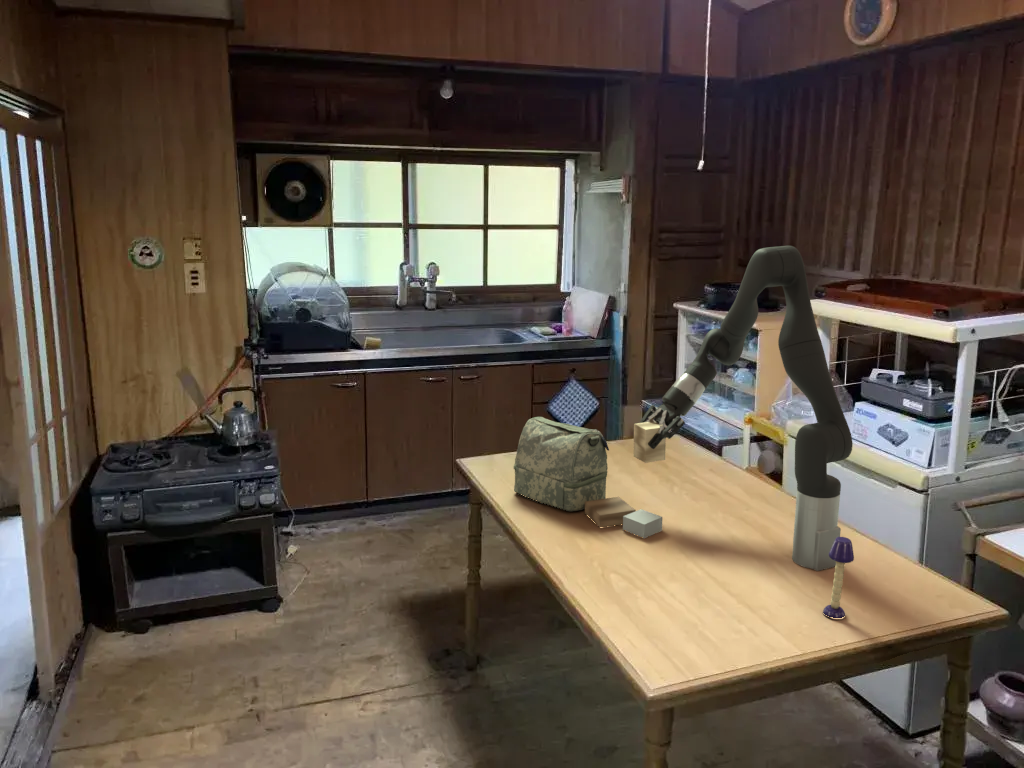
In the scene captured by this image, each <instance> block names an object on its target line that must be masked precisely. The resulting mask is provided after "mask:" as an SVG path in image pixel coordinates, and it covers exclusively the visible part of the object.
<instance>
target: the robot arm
mask: <svg viewBox="0 0 1024 768" xmlns="http://www.w3.org/2000/svg"><path fill="white" fill-rule="evenodd" d="M806 272H807V271H806V267H805V263H804V260H803V257H802V254H801V253H800V251H799V250H798V248H797V247H795V246H793V245H781V246H770V247H763V248H759V249H757V250H756V251H755V252H754V253H753V255H751V258H750V260H749V262H748V264H747V266H746V269H745V272H744V275H743V278H742V280H741V283H740V286H739V288H738V291H737V294H736V297H735V300H733V301H734V302H733V303H732V304H731V306H730V308H729V310H728V312H727V314H726V315H725V317H723V320H722V322H721V324H720V328H718V327H716V328H713V329H711V330H709V331H708V332H707V333H706V334H705V336H704V338H703V340H702V342H701V345H700V347H699V350H698V352H697V354H696V356H695V358H694V359H693V361H692V362H691V364H690V365H689V366H688V367H687V368H686V370H685V371H684V372H683V374H681V375H680V376H679V377H678V378H677V379H676V380H675V381H674V383H673V384H672V385H671V387H670V388H669V389H668V390H667V391H666V392H665V394H664V395H663V396H662V399H661V400H662V403H661V404H660V405H659V406H658V407H657V406H655V405H654V404H651V405H650V406H649V408H648V409H647V411H646V412H645V413H644V415H643V416H642V418H641V419H640V422H639V423H643V422H657V423H659V426H660V428H659V430H658V432H657V433H658V434H657V433H656V434H655V435H654V436H653V438H652V439H651V440H650V441H649V443H648V445H649V446H650V447H651V448H652V449H655V447H657V445H658V444H659V443H660V442H661V441H662V439H665V438H667V439H668V440H669V439H670V440H671V439H672V438H673V437H674V436H675V435H676V433H677V432H678V431H679V430H680V429H682V427H683V426H684V425H685V423H686V422H685V420H684V419H683V418H682V417H685V416H687V414H688V413H689V412H690V411H691V409H692V408H693V407H694V406H695V404H696V403H697V402H698V400H700V398H701V397H702V395H703V393H704V392H705V390H706V389H707V387H708V386H710V384H711V383H712V382H713V380H715V377H717V374H718V372H717V369H716V368H715V366H714V365H713V364H712V363H711V362H710V360H709V359H708V355H710V356H712V357H713V358H714V359H715V360H717V361H718V362H719V363H721V364H722V365H725V366H732V365H735V364H737V362H738V361H739V359H740V358H741V356H742V355H743V354H742V353H743V351H744V347H745V341H746V338H747V335H748V334H749V332H750V331H751V329H752V328H753V326H754V325H755V323H756V322H757V319H758V316H759V306H758V305H759V304H758V297H759V295H760V294H761V293H762V292H763V290H765V288H773V287H774V288H775V287H782V289H783V293H784V297H785V304H786V309H785V315H784V319H783V321H782V324H781V327H780V330H779V334H778V335H779V336H778V339H777V340H778V342H777V343H778V350H779V354H780V357H781V361H782V365H783V368H784V370H785V371H784V372H786V374H787V376H788V378H790V380H791V381H792V382H793V383H794V385H795V386H796V387H797V388H798V389H799V390H800V391H801V392H802V393H803V395H804V396H805V397H806V398H807V400H808V402H809V403H810V405H811V407H812V409H813V413H814V415H815V419H816V422H814V423H808V424H804V425H803V426H801V427H800V428H799V430H798V431H797V434H796V436H795V443H794V477H795V480H796V496H795V497H796V498H795V499H796V500H795V510H794V511H795V512H794V513H795V514H794V526H793V527H794V528H793V537H792V538H793V541H792V553H791V558H792V561H793V562H794V563H795V564H796V565H799V566H801V567H803V568H808V569H811V570H815V571H816V572H819V571H823V569H824V570H827V568H828V569H831V567H832V568H835V567H834V566H836V561H834V560H832V559H831V558H830V557H829V552H830V549H831V547H832V545H833V543H834V541H835V539H836V538H837V537H841V533H842V532H841V530H842V529H841V527H840V526H838V525H839V524H838V523H839V512H840V511H839V510H840V501H841V500H840V499H841V488H842V483H841V481H840V480H839V479H838V478H837V477H835V476H833V475H831V474H828V472H827V471H828V467H827V466H828V465H827V464H831V463H836V462H841V461H844V460H846V459H848V458H849V457H850V455H851V453H852V451H853V436H852V432H851V429H850V426H849V425H848V422H847V418H846V417H845V413H844V411H843V408H842V406H841V403H840V401H839V398H838V395H837V393H836V390H835V387H834V383H833V381H832V380H833V379H832V377H831V373H830V369H829V366H828V363H827V358H826V354H825V349H824V346H823V343H822V339H821V336H820V334H819V330H818V326H817V323H816V318H815V315H814V311H813V307H812V302H811V296H810V291H809V284H808V279H807V275H806V274H807V273H806ZM663 429H665V430H664V431H663Z"/></svg>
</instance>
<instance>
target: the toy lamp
mask: <svg viewBox="0 0 1024 768" xmlns="http://www.w3.org/2000/svg"><path fill="white" fill-rule="evenodd" d="M853 549H854V548H853V543H852V540H851V539H850V538H848V537H845V536H840V537H837V538H836V539H835V541H834V543H833V545H832V547H831V549H830V552H829V557H830V558H831V559H832V560H834V561H836V566H835V567H834V573H833V577H834V578H833V581H832V583H833V586H832V589H831V590H832V593H831V596H830V597H831V600H830V602H829V603H830V604H828V605H826V606H825V607H824V608H823V610H822V614H823V613H824V614H825V615H827V616H829V617H833V618H842V617H844V616H845V617H846V612H845V610H844V609H843V608H842V607H841V606H840V605H841V602H840V600H841V593H842V592H843V590H842V589H843V588H842V586H843V584H844V582H843V579H844V572H845V565H846V564H849V563H852V562H853V561H854V560H855V556H854V550H853ZM824 614H823V615H824ZM825 615H824V616H825Z"/></svg>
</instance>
